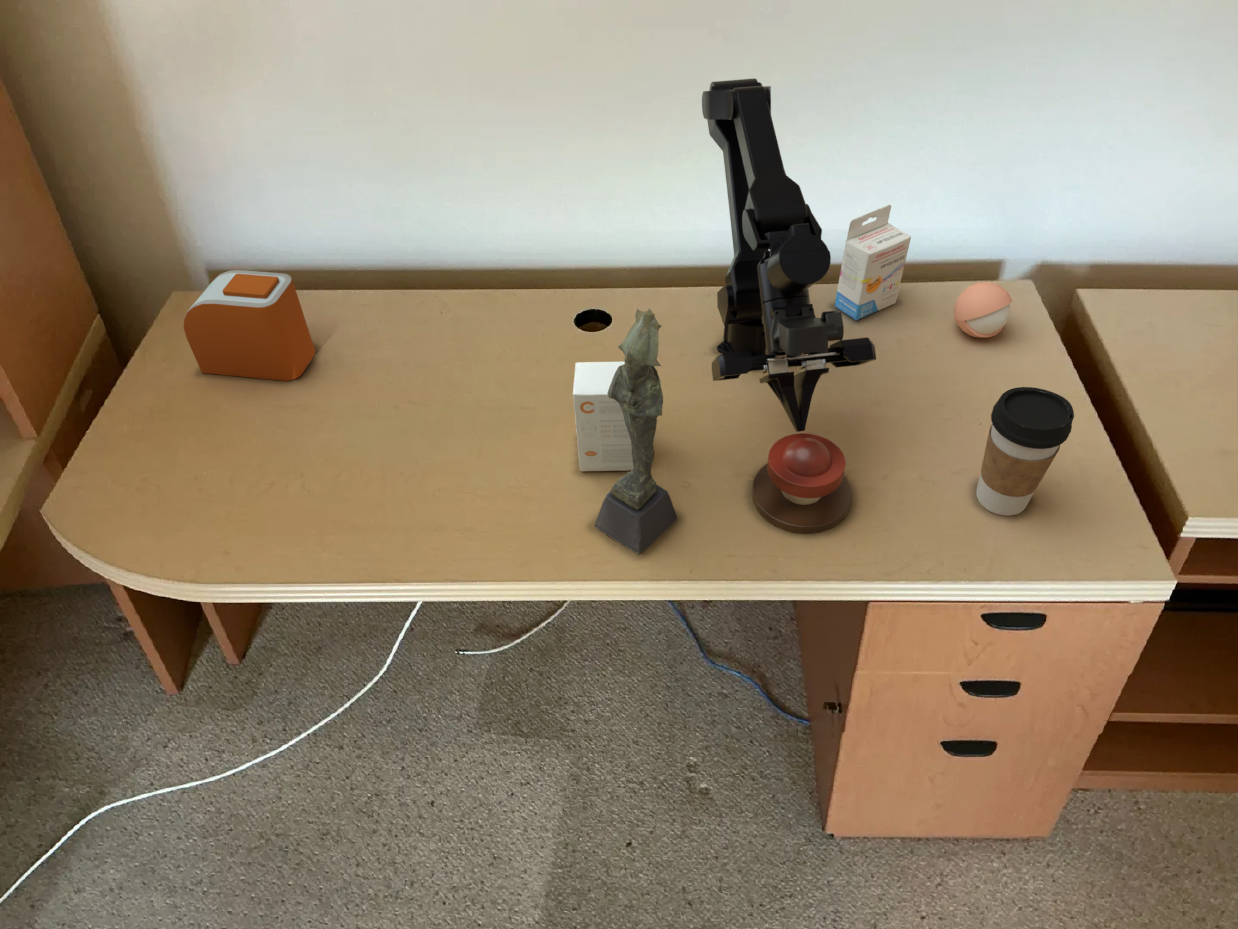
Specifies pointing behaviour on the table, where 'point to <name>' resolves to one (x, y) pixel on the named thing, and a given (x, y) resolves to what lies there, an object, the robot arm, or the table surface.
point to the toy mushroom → (803, 485)
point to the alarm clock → (250, 327)
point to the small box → (599, 420)
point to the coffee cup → (1021, 447)
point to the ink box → (871, 265)
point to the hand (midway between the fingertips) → (800, 431)
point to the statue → (638, 444)
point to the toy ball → (982, 309)
